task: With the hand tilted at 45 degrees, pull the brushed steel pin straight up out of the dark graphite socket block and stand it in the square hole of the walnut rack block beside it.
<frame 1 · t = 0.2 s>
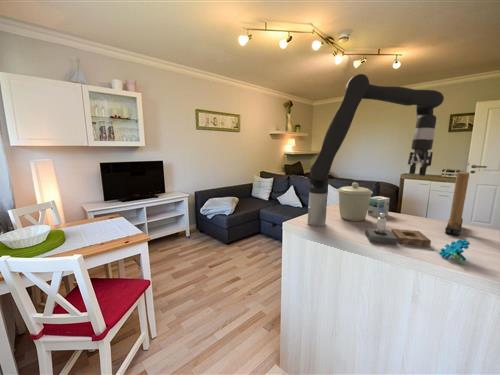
hand: (416, 174, 103), 28 cm above the countertop, tool pointing down, fingers open, 8 cm apart
rack block: (409, 240, 98), on the countertop
blue pixel flower: (452, 259, 82), on the countertop
light bulb box: (377, 215, 135), on the countertop
canister: (352, 218, 128), on the countertop
steel pin: (381, 226, 98), in the socket block
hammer: (453, 231, 110), on the countertop
socket block: (379, 239, 99), on the countertop
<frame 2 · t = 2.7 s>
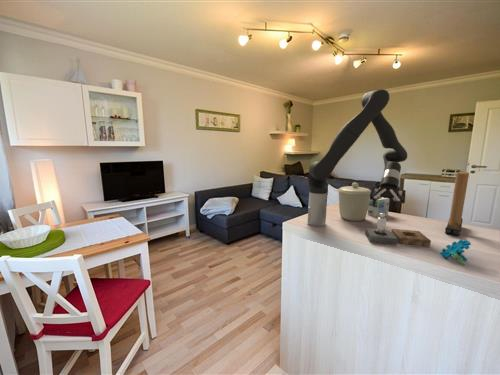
hand: (384, 207, 103), 13 cm above the countertop, tool tilted 45°, fingers open, 8 cm apart
nothing on the countertop moved.
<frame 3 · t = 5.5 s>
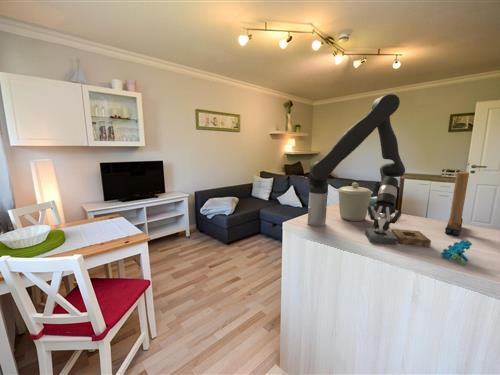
hand: (380, 229, 96), 5 cm above the countertop, tool tilted 45°, fingers closed on steel pin, 3 cm apart
steel pin: (381, 226, 98), in the socket block, touching gripper
everything else where it was.
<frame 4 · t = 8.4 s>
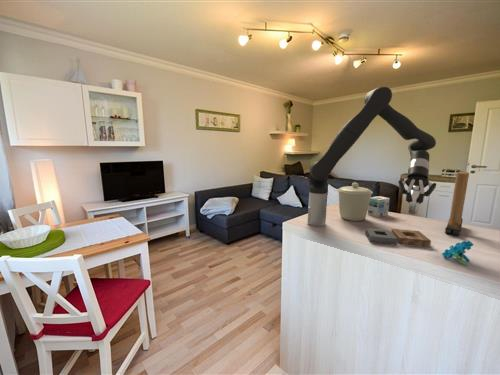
hand: (414, 202, 93), 18 cm above the countertop, tool tilted 45°, fingers closed on steel pin, 3 cm apart
steel pin: (414, 199, 94), point 18 cm above the countertop, touching gripper
everything else where it was.
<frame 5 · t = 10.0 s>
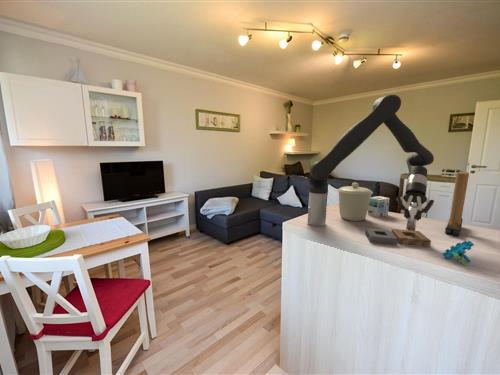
hand: (412, 218, 94), 11 cm above the countertop, tool tilted 45°, fingers closed on steel pin, 3 cm apart
steel pin: (412, 216, 96), point 11 cm above the countertop, touching gripper
when the fingers open (7 cm above the countertop, at t = 11.2 s): steel pin drops 1 cm, resting in rack block.
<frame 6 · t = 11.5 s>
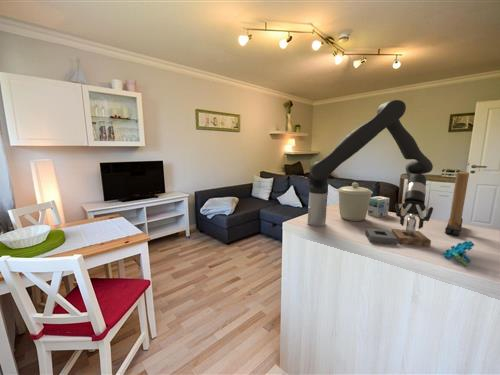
hand: (410, 226, 95), 7 cm above the countertop, tool tilted 45°, fingers open, 5 cm apart
steel pin: (410, 227, 97), in the rack block
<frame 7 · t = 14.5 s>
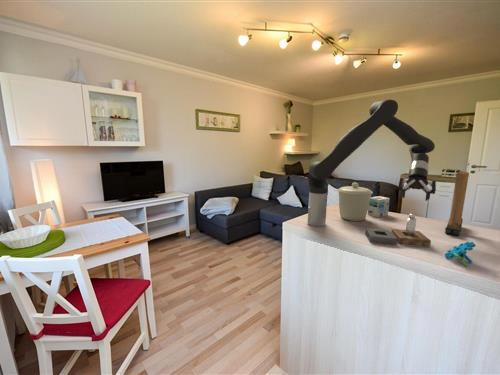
hand: (414, 198, 103), 17 cm above the countertop, tool tilted 45°, fingers open, 8 cm apart
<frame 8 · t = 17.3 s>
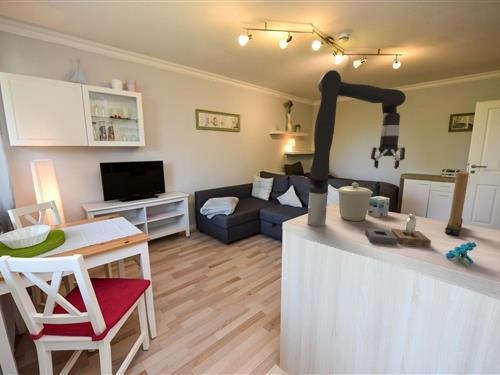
hand: (386, 168, 111), 30 cm above the countertop, tool pointing down, fingers open, 8 cm apart
at the end: steel pin 0.1 cm off-centre on the rack block, point 6.0 cm above the rack block's base; steel pin tilted 0°; the gripper is holding nothing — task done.
